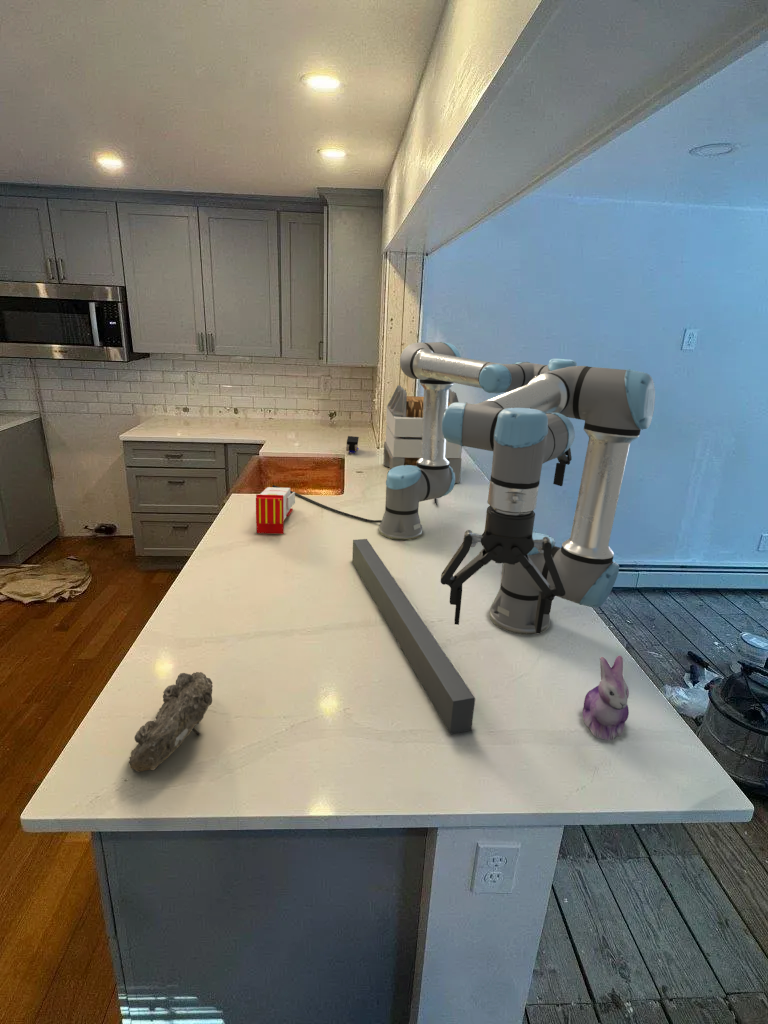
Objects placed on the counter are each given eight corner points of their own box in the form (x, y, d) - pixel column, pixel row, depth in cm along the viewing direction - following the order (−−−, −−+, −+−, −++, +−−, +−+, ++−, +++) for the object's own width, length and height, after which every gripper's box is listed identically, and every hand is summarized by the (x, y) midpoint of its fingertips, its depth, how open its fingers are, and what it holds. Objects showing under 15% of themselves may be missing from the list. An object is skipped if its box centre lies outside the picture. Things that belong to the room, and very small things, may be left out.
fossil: (162, 673, 113) (214, 640, 108) (196, 704, 116) (248, 673, 111) (102, 765, 93) (163, 730, 88) (145, 799, 96) (206, 767, 91)
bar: (352, 561, 176) (352, 539, 174) (366, 560, 178) (366, 538, 175) (449, 734, 106) (453, 701, 104) (471, 730, 108) (475, 697, 105)
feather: (434, 489, 255) (437, 485, 255) (436, 507, 229) (439, 503, 228) (431, 487, 255) (434, 483, 254) (433, 505, 228) (436, 501, 228)
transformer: (382, 463, 289) (386, 382, 275) (445, 464, 293) (451, 384, 279) (390, 482, 257) (394, 392, 243) (460, 483, 261) (468, 394, 247)
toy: (297, 482, 219) (286, 496, 190) (297, 516, 222) (286, 535, 193) (265, 481, 219) (249, 495, 189) (265, 515, 221) (250, 534, 192)
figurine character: (358, 457, 303) (358, 448, 316) (358, 444, 299) (359, 435, 313) (345, 457, 302) (346, 447, 316) (345, 443, 299) (347, 434, 313)
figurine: (608, 750, 104) (623, 681, 99) (567, 715, 113) (579, 651, 107) (643, 734, 108) (659, 668, 103) (601, 702, 117) (614, 640, 112)
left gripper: (540, 422, 148) (529, 499, 155) (591, 414, 164) (579, 485, 171) (516, 417, 154) (507, 492, 161) (568, 410, 169) (557, 478, 176)
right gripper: (431, 509, 88) (422, 628, 95) (597, 523, 85) (575, 645, 92) (433, 494, 95) (425, 606, 102) (588, 506, 92) (568, 621, 99)
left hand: (544, 488), depth 166 cm, fingers open, 13 cm apart
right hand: (496, 625), depth 97 cm, fingers open, 13 cm apart
